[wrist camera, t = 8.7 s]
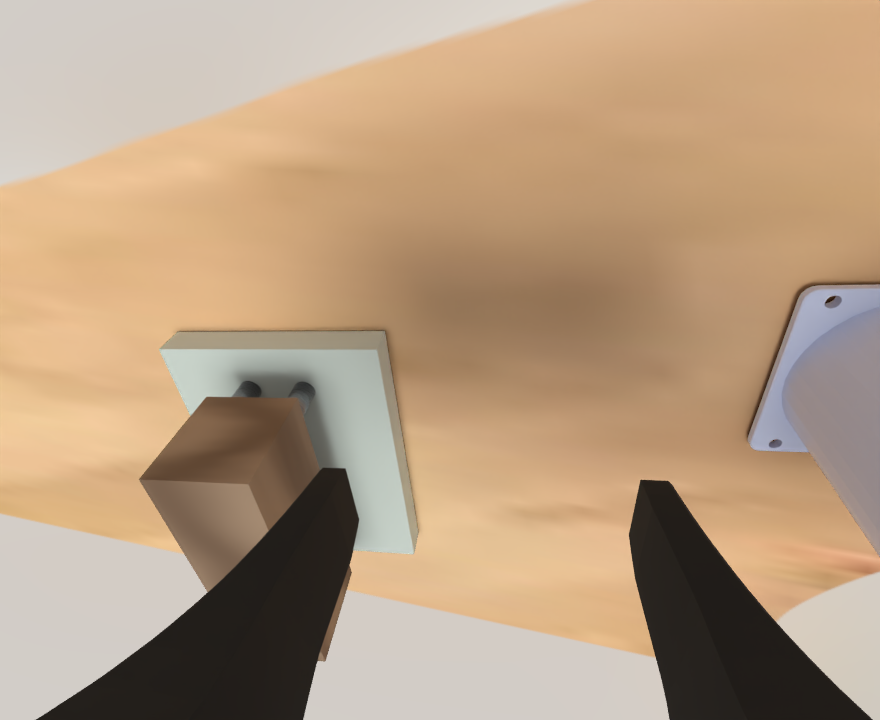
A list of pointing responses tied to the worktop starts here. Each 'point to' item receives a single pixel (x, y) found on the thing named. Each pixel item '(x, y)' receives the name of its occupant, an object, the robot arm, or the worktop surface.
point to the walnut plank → (233, 482)
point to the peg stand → (318, 409)
